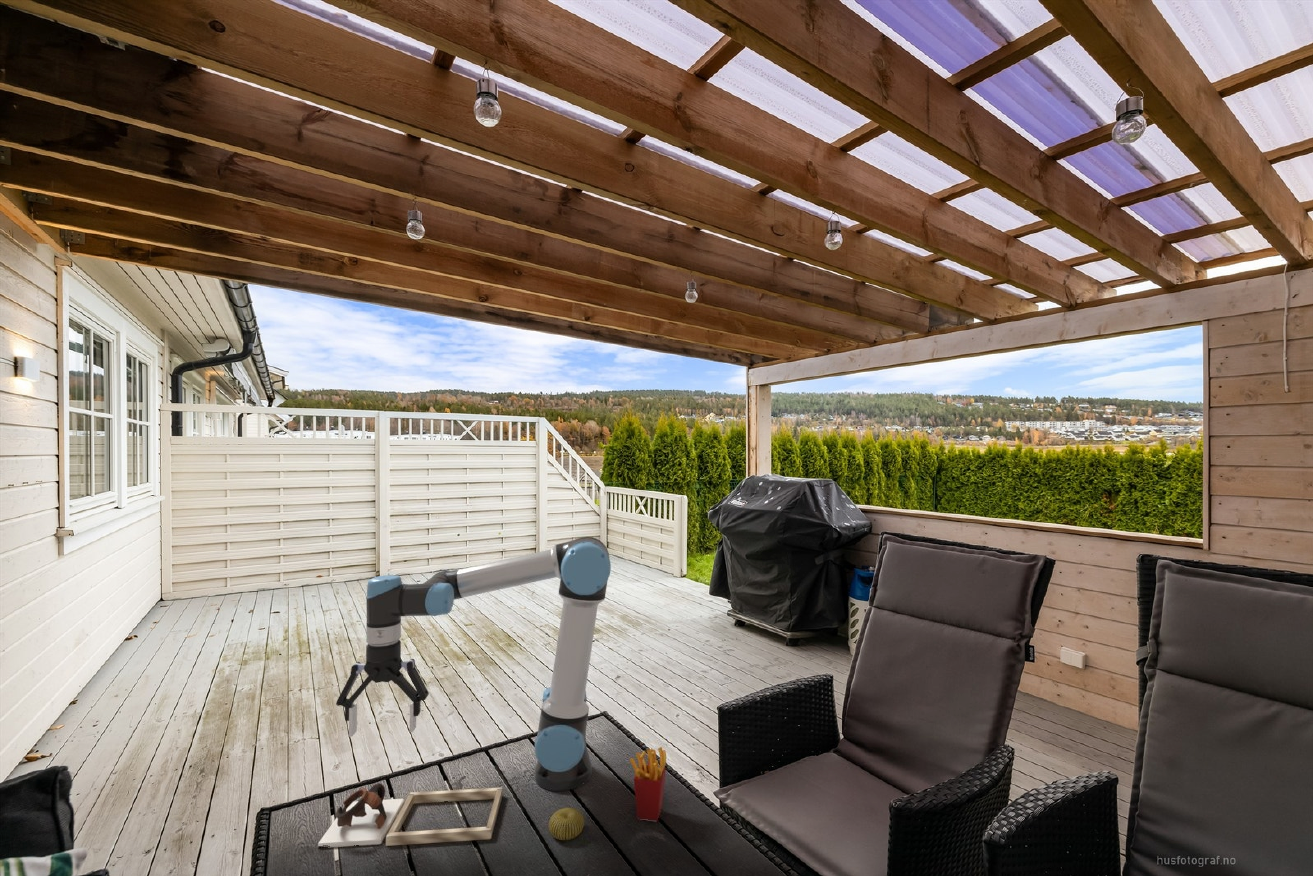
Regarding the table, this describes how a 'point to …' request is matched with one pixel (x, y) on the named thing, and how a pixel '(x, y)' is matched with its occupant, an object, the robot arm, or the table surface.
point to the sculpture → (566, 823)
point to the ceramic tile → (362, 827)
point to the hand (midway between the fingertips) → (383, 731)
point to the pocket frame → (445, 834)
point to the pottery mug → (363, 805)
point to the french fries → (649, 784)
